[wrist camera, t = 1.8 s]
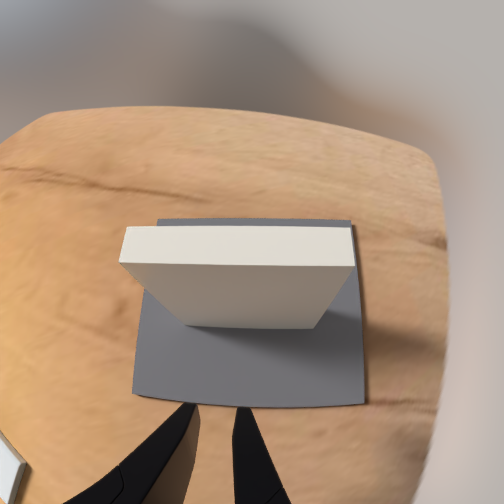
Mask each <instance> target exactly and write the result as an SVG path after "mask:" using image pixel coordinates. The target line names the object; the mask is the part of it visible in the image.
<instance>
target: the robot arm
mask: <svg viewBox="0 0 504 504" xmlns="http://www.w3.org/2000/svg"><path fill="white" fill-rule="evenodd" d="M199 429H200V415H199V410H198V406H197V404H195V403H188V402H185V403H183V404H182V405H181V406H180V407H179V408H178V409H177V410H176V411H175V412H174V413H173V414H172V415H171V416H170V417H169V418H168V419H167V420H166V421H165V422H164V423H163V424H162V425H161V426H159V427H158V428H157V429H156V430H155V431H154V432H153V433H152V434H151V435H150V436H149V437H148V438H147V439H146V440H145V441H144V442H142V443H141V444H140V445H139V446H138V447H137V448H136V449H135V450H134V451H133V452H132V453H130V454H129V455H128V456H127V457H126V458H125V459H124V460H123V461H122V462H121V463H119V466H118V465H117V466H116V467H115V468H114V469H112V470H111V471H110V472H109V473H108V474H107V475H105V476H104V477H103V478H102V479H100V480H99V481H98V482H96V483H95V484H93V485H92V486H90V487H89V488H87V489H86V490H84V491H83V492H81V493H79V494H78V495H76V496H75V497H73V498H71V499H70V500H68V501H66V502H65V503H63V504H183V502H184V499H185V495H186V492H187V488H188V485H189V481H190V478H191V474H192V471H193V467H194V463H195V457H196V451H197V443H198V436H199ZM232 452H233V476H234V496H235V504H291V502H290V500H289V498H288V496H287V493H286V491H285V489H284V488H283V485H282V483H281V480H280V478H279V476H278V474H277V471H276V469H275V467H274V464H273V462H272V460H271V457H270V455H269V452H268V450H267V448H266V445H265V443H264V440H263V438H262V436H261V433H260V431H259V428H258V426H257V423H256V421H255V418H254V416H253V413H252V410H251V409H250V408H249V407H238V408H237V411H236V417H235V423H234V428H233V435H232Z"/></svg>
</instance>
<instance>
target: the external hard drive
mask: <svg viewBox="0 0 504 504" xmlns="http://www.w3.org/2000/svg"><path fill="white" fill-rule="evenodd" d="M26 464H27V462H26V461H25V460H24V459H23V458H22V457H21V455H20V454H19V453H18V452H17V451H16V450H15V448H14V447H13V446H12V445H11V444H10V443H9V441H8V440H7V439H6V438H5V436H4V435H3V434H2V432H1V431H0V497H1V498H2V500H3V501H4V502H5V503H6V504H14V501H15V498H16V495H17V491H18V488H19V485H20V482H21V479H22V476H23V473H24V470H25V467H26Z"/></svg>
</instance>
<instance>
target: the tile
mask: <svg viewBox="0 0 504 504" xmlns="http://www.w3.org/2000/svg"><path fill="white" fill-rule="evenodd" d="M119 263H120V264H121V265H122V266H123V267H124V268H125V269H126V270H127V271H128V272H129V273H130V274H131V275H132V276H133V277H134V278H135V279H136V280H137V281H138V282H139V283H140V284H141V285H142V286H143V287H144V288H145V289H146V290H147V291H148V292H149V293H150V294H151V295H152V296H153V297H155V298H156V299H157V300H158V301H159V302H160V303H161V304H162V305H163V306H164V307H165V308H166V309H167V310H169V311H170V312H171V313H172V314H173V315H174V316H175V317H176V318H177V319H179V320H180V321H181V322H182V323H183V324H184V325H187V326H204V327H224V328H254V329H313V328H314V327H315V326H316V324H317V323H318V321H319V320H320V318H321V317H322V315H323V314H324V313H325V311H326V310H327V308H328V307H329V305H330V304H331V302H332V301H333V299H334V298H335V296H336V295H337V293H338V292H339V290H340V289H341V287H342V286H343V284H344V283H345V281H346V279H347V278H348V276H349V275H350V273H351V272H352V270H353V268H354V267H355V261H354V253H353V245H352V237H351V230H350V228H343V227H297V226H142V227H127V229H126V233H125V237H124V241H123V245H122V250H121V254H120V258H119Z"/></svg>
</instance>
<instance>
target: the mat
mask: <svg viewBox="0 0 504 504" xmlns="http://www.w3.org/2000/svg"><path fill="white" fill-rule="evenodd" d="M157 226H297V227H343V228H350V230H351V237H352V245H353V253H354V261H355V267H354V268H353V270H352V272H351V273H350V275H349V276H348V278H347V279H346V281H345V283H344V284H343V286H342V287H341V289H340V290H339V292H338V293H337V295H336V296H335V298H334V299H333V301H332V302H331V304H330V305H329V307H328V308H327V310H326V311H325V313H324V314H323V315H322V317H321V318H320V320H319V321H318V323H317V324H316V326H315V327H314V328H313V329H254V328H224V327H204V326H187V325H184V324H183V323H182V322H181V321H180V320H179V319H177V318H176V317H175V316H174V315H173V314H172V313H171V312H170V311H169V310H167V309H166V308H165V307H164V306H163V305H162V304H161V303H160V302H159V301H158V300H157V299H156V298H155V297H153V296H152V295H151V294H150V293H149V292H148V291H147V290H146V289H144V295H143V301H142V308H141V315H140V322H139V330H138V338H137V346H136V355H135V365H134V375H133V387H132V394H137V395H142V396H148V397H155V398H161V399H168V400H176V401H184V402H192V403H202V404H213V405H227V406H245V407H319V406H337V405H350V404H361V403H364V355H363V333H362V317H361V304H360V292H359V282H358V272H357V263H356V255H355V247H354V239H353V232H352V225H351V220H324V219H266V218H198V219H158V221H157Z"/></svg>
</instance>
